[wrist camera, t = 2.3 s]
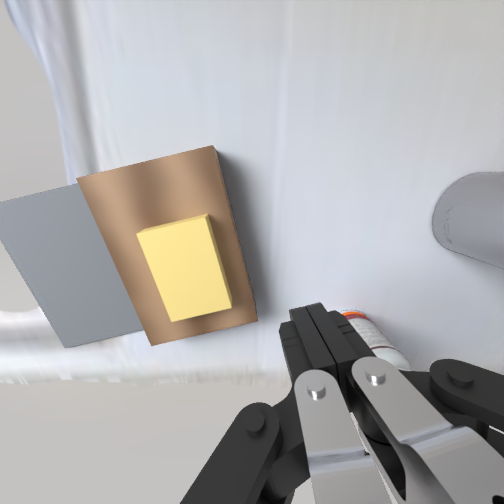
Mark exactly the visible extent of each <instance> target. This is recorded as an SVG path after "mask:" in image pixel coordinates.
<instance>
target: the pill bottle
mask: <svg viewBox="0 0 504 504" xmlns="http://www.w3.org/2000/svg"><path fill="white" fill-rule="evenodd" d="M339 313H341V314H342V315H344V316H345V317H346V318H347V319H348V321H349V322H350V323H351V325H352V326H353V327H354V328H355V330H356V332H358V333H359V335H360V336H361V337H362V338H363V340H364V341H365V342H366V343H367V345H368V346H369V347H370V349H371V350H372V351H373V352H374V354H375V355H376V356H377V357H378V358H381V359H384V360H386V361H388V362H390V363H391V364H392V365H394V366H395V367H396V368H397V369H399V370H404V371H411V368H410V365H409V363H408V361H407V360H406V358H405V357H404V356H403V355H402V354H401V353H400V352H399V351H398V350H397V349H396V347H395V346H394V345H393V344H392V343H391V342H390V341H389V340H388V339H387V338H386V337H385V336H384V335H383V334H382V333H381V332H380V330H379V329H378V328H377V327H376V326H375V325H374V324H373V323H372V322H371V321H370V320H369V319H368V318H367V317H366V316H365V315H364V314H363V313H361V312H359V311H355V310H346V311H342V312H339Z"/></svg>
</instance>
